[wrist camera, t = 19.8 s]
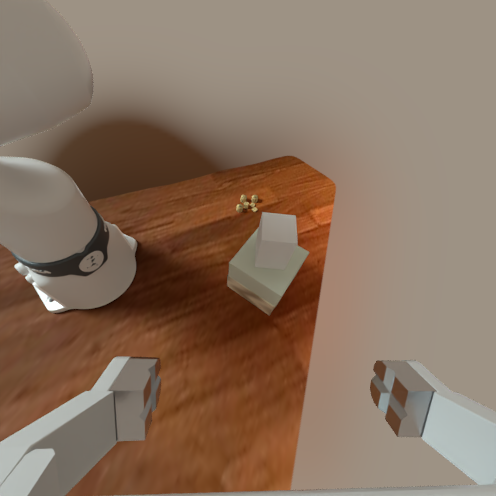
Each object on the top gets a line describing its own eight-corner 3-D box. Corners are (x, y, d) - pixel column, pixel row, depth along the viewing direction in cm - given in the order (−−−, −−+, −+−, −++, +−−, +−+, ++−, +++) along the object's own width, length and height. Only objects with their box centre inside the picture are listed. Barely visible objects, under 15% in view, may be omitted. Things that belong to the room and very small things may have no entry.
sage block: (228, 275, 45) (229, 262, 41) (257, 239, 50) (261, 224, 46) (275, 307, 43) (281, 296, 38) (301, 265, 48) (309, 252, 43)
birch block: (226, 286, 49) (227, 275, 45) (254, 252, 54) (257, 239, 50) (269, 316, 47) (273, 307, 43) (294, 277, 52) (300, 266, 47)
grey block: (284, 269, 41) (297, 243, 34) (254, 267, 41) (261, 240, 34) (283, 244, 44) (295, 215, 37) (255, 241, 43) (262, 212, 37)
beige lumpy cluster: (236, 213, 60) (236, 208, 58) (237, 198, 63) (238, 192, 61) (256, 216, 60) (257, 210, 58) (257, 200, 63) (258, 195, 61)
